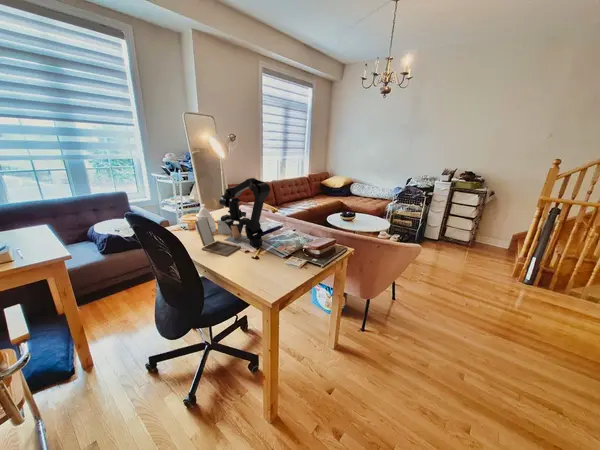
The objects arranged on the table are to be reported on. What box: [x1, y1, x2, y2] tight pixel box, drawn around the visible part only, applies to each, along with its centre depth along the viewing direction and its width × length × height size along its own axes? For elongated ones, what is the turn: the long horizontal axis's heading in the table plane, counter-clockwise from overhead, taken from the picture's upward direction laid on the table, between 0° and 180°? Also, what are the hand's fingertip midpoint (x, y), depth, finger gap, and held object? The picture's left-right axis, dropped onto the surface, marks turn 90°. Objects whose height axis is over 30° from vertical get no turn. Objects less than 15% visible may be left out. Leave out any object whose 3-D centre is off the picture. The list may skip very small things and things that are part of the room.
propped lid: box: [194, 217, 216, 247], centre depth 140 cm, size 15×8×1 cm
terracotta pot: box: [231, 223, 242, 238], centre depth 150 cm, size 6×6×8 cm
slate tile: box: [224, 234, 248, 244], centre depth 152 cm, size 11×11×1 cm
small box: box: [216, 217, 232, 235], centre depth 161 cm, size 8×6×10 cm
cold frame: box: [201, 217, 241, 257], centre depth 137 cm, size 24×12×17 cm, turn 63°
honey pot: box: [195, 203, 217, 235], centre depth 165 cm, size 13×13×18 cm
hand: (236, 232), depth 151 cm, fingers closed on terracotta pot, 6 cm apart
